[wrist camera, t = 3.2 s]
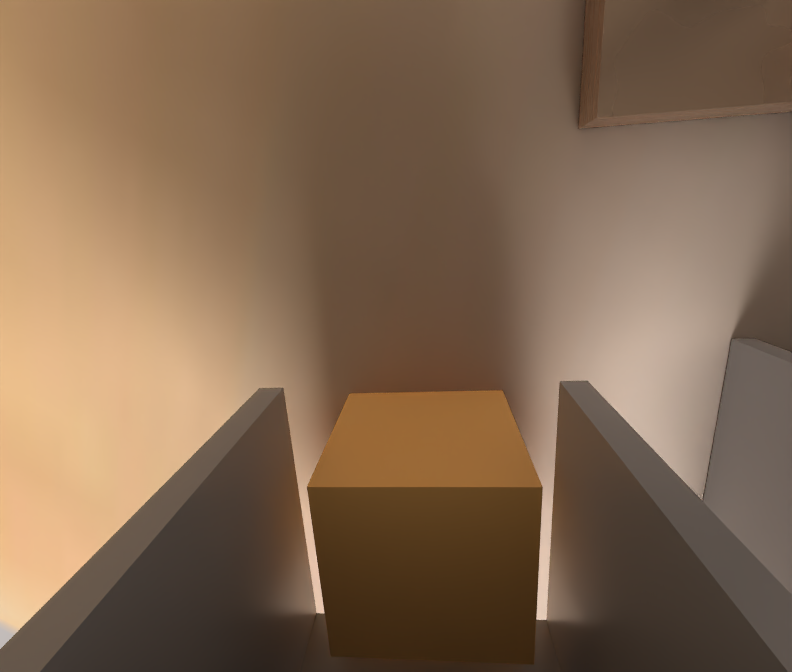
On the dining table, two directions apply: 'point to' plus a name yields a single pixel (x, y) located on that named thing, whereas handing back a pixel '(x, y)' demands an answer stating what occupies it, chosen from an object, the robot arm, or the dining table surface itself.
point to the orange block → (428, 529)
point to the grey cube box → (755, 454)
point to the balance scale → (684, 60)
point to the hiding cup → (315, 668)
